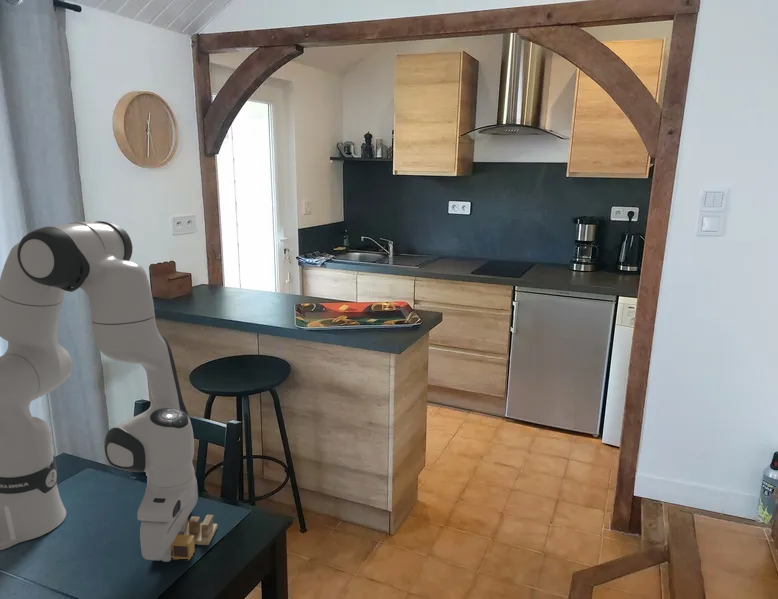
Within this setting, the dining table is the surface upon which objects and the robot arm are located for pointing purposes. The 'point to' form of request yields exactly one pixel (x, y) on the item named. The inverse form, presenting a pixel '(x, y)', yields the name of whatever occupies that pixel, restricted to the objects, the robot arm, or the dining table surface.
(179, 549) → the tan rectangular block
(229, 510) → the dining table surface
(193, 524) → the display stand
